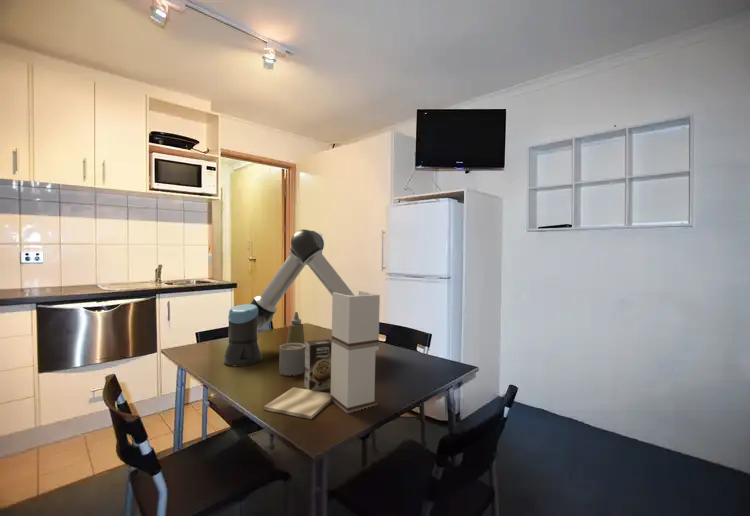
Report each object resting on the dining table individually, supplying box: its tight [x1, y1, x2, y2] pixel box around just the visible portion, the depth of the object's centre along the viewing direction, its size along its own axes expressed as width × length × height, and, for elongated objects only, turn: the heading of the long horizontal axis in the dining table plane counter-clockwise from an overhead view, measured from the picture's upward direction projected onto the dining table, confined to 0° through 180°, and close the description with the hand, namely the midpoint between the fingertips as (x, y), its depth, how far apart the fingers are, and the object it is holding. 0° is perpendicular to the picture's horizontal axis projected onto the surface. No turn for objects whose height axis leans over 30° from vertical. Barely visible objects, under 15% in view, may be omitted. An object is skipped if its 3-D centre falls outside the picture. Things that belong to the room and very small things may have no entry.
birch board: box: [263, 387, 333, 420], centre depth 110 cm, size 16×16×1 cm
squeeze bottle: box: [286, 311, 305, 345], centre depth 169 cm, size 8×8×18 cm
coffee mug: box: [278, 343, 306, 377], centre depth 138 cm, size 13×10×10 cm
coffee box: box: [303, 338, 332, 392], centre depth 123 cm, size 9×6×16 cm
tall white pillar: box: [330, 290, 381, 414], centre depth 111 cm, size 11×11×35 cm
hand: (329, 352), depth 128 cm, fingers closed
